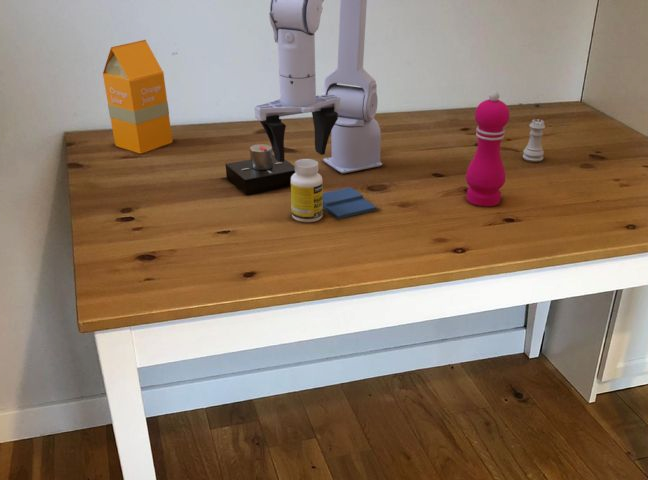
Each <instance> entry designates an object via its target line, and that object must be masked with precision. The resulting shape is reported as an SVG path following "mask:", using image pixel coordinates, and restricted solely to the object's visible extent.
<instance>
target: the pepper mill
mask: <svg viewBox="0 0 648 480" xmlns="http://www.w3.org/2000/svg"><path fill="white" fill-rule="evenodd" d="M499 99H500V93H499V91H497V90H492V91H491V92H490V93H489V95H488V99H486V100H485V99H484V100H483V101H481V102H480V103H479V104H478V106H477V107H476V108H475V113H474V120H475V122H476V123H477V125H478V126H477V127H476V133H475V135H476V137H477V149H476V151H475V155H474V157H473V158H472V160H471V162H470V163H469V166H468V167H467V170H466V174H465V182H466V183H467V185H468V186H469V187H468V188H467V190H466V201H467V202H468V203H470V204H472V205H475V206H478V207H494V206H497V205H498V204H499V203H500V202H501V197H502V192H501V188H502V187H504V185H505V183H506V171H505V170H506V169H505V166H504V163H503V160H502V156H501V142H502V140H503V139H504V138H505V132H506V130H505V127H506V126H507V124H508V122H509V121H510V109H509V107H508V105H507V104H506V103H505V102H504V101H502V100H499Z"/></svg>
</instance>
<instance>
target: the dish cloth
mask: <svg viewBox="0 0 648 480" xmlns="http://www.w3.org/2000/svg"><path fill="white" fill-rule="evenodd" d="M323 210H325V211H326V212H327V213H328V214H329V215H331V216H332V217H334V218H335V219H336V220H340V219H341V220H342V219H346V218H350V217H355V216H359V215H362V214H367V213H371V212H376V211H377V206H376V205H374V204H373V203H372V202H370V201H368V200H367V199H366V198H364V195H363V194H362V193H360V192H359V191H358V190H355V188H353V187H351V186H348V187H343V188H339V189H335V190H329V191H325V192H323Z"/></svg>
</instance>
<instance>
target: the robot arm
mask: <svg viewBox="0 0 648 480" xmlns="http://www.w3.org/2000/svg"><path fill="white" fill-rule="evenodd" d="M324 1H325V0H270V3H269V12H268V15H269V16H268V17H269V22H270V25H271V28H272V31H273V40H274V43H276V44H277V57H278V74H279V75H278V78H279V95H280V96H279V98H280V99H276V100H273V101H269V102H265V103H262V104H256V105H254V117H255V119H257V120H258V121H259V122H260V124H261V126H262V127H263V129H264V131H265V134H266V135H267V137H268V141H269V142H270V146H271V147H272V153H273V155H274V156H275V159H276V160H277V161H279V162H284V159H285V133H286V126H287V125H286V124H285V123H284V122H282V119H281V117H287V116H294V115H295V116H296V115H301V114H308V113H311V115H312V121H313V128H314V149H315V152H316V153H318V154H319V155H321V156H323V155H326V151H327V145H328V142H329V138H331V139H330V140H331V141H330V143H331V145H330V146H331V157H330V156H329V157H325V158H323V159H322V161H323V163H325V164H326V165H328V166H330V167H331V168H333V169H334V170H336V171H337V172H339V173H340V174H349V173H354V172H358V171H359V172H360V171H362V170H369V169H372V168H373V169H374V168H378V167H382V166H383V162H382V161H381V147H382V146H381V145H382V133H381V128H380V127H381V126H380V124H379V122H378V121H377V120H376V119H375V117H376V114H377V110H378V93H377V86H378V85H377V81H376V80H375V78H374V77H373V76H371V74H370V73H368V71H366V69H365V68H364V57H365V41H366V39H365V38H366V21H367V6H368V5H367V4H368V0H339V21H338V22H339V23H338V45H337V46H338V47H337V66H336V69H334V70H333V71H331V72H330V73H328V74H327V75H326V76H325V78H324V80H323V81H324V82H323V90H322V93H321V95H317V85H316V84H317V81H316V44H315V43H316V41H315V40H316V39H315V38H316V37H315V35H316V33H317V31H318V30H319V27H320V23H321V17H322V13H323V3H324Z"/></svg>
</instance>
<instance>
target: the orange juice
mask: <svg viewBox="0 0 648 480" xmlns="http://www.w3.org/2000/svg"><path fill="white" fill-rule="evenodd" d="M102 77H103V78H102V79H103V83H104V89H105V90H104V91H105V94H106V101H107V107H108V113H109V114H108V115H109V118H110V123H111V129H112V135H113V140H114V146H115V147H118V148H121V149H124V150H127V151H130V152H134V153H136V154H140V155H141V154H144V153H147V152H149V151H150V152H151V151H153V150H155V149H158V148H161V147H164V146H167V145H170V144H173V135H172V128H171V120H170V109H169V101H168V96H167V89H166V82H165V81H166V80H165V74H164V71H163V69H162V67H161V65H160V64H159V62H158V60H157V58H156V56H155V54H154V52H153V50H152V49H151V47H150V46H149V43H148V41H147V39H143V40H138V41H134V42H129V43H124V44H120V45H114V46H111V47H110V49H109V53H108V56H107V59H106V62H105V66H104V69H103V72H102Z"/></svg>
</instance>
